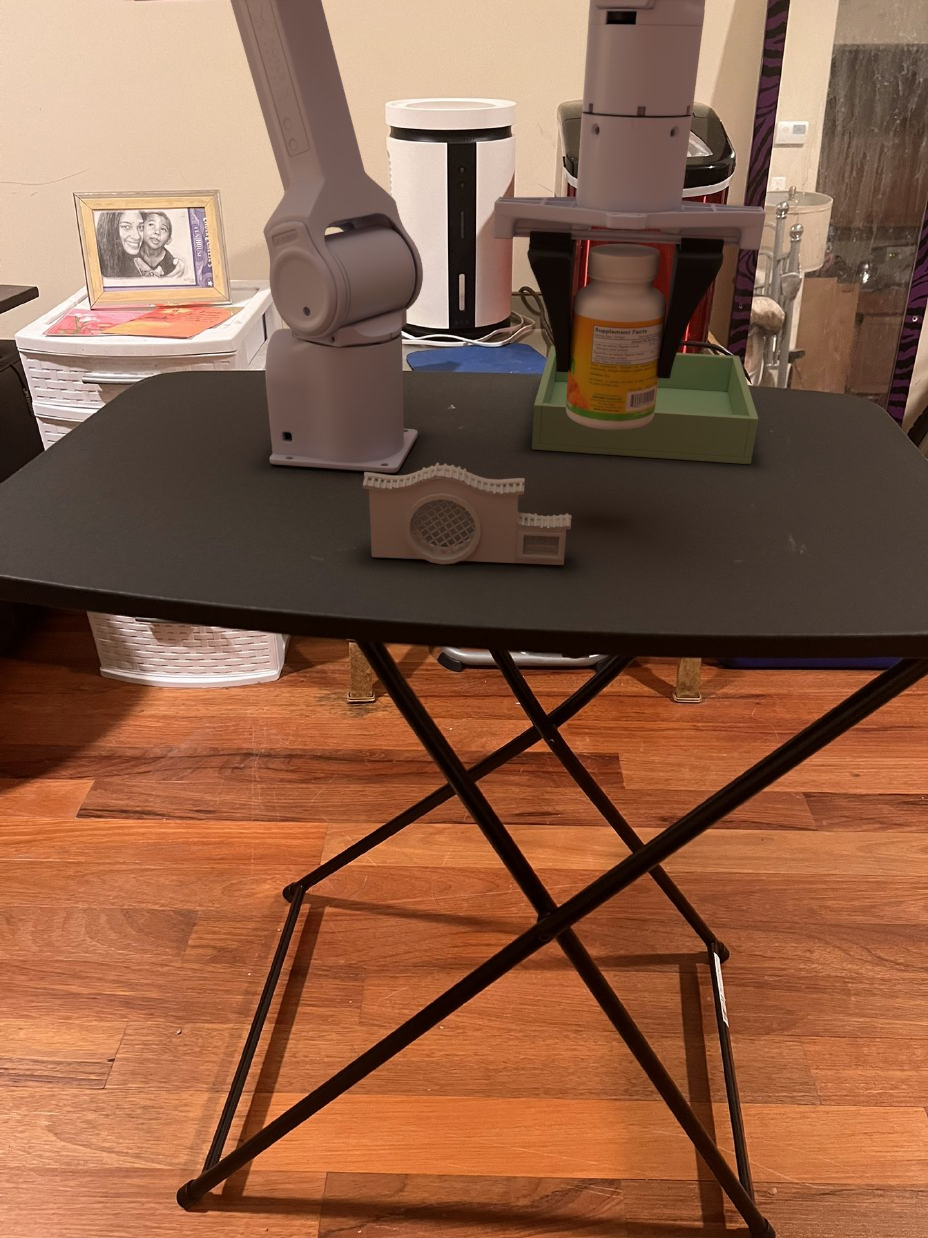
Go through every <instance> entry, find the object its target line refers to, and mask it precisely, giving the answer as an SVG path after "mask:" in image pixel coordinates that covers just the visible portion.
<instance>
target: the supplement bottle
mask: <svg viewBox="0 0 928 1238" xmlns="http://www.w3.org/2000/svg"><path fill="white" fill-rule="evenodd" d="M660 261H661V251H660V250H659V249H658V248H655V247H652V246H649V245H642V244H633V243H606V244H599V245H595V246H592V247H590V248H589V251H588V256H587V272H586V275H587V276H588V277H589V278H590V281H589V284H587V285H584V286H582V287H581V288H580V289H578V290H577V292H576V293H575V294H574V297H573V299H572V307H571V320H572V321H571V336H570V357H569V370H568V381H567V396H566V412H567V415H568V416H569V418H571V419H572V420H573V421H575V422H577V423H579V424H581V425H583V426H586V427H590V428H595V429H603V430H625V429H633V428H638V427H641V426H644V425H646V424H648V423H649V422H650V421H651V420H652V419H653V416H654V413H655V406H656V397H657V388H658V379H659V378H658V370H659V362H660V355H661V350H662V343H663V334H664V326H665V320H666V315H667V298H666V297H665V295H664V293H663V292H661V290H659V289H658V288H656V287H654V280H656V279H657V278H658V277H659V276H658V274H659V272H660Z"/></svg>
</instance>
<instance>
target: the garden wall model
mask: <svg viewBox="0 0 928 1238" xmlns="http://www.w3.org/2000/svg"><path fill="white" fill-rule="evenodd" d="M363 472H364V473H363V482H362V489H367V490H368V498H369V500H368V502H369V522H370V524H369V525H370V546H371V547H370V548H371V549H370V550H371V557H372V558H389V559H411V560H412V559H414V560H425V561H427V562H429V563H434V564H438V565H451V564H456V563H459V562H480V563H505V564H506V563H507V564H533V565H556V566H564V565H565V554H566V552H565V551H566V537H567V530H571V528H572V527H571V525H572V524H571V523H572V515H571V514H569V513H568V512H567V513H566V512H565V514H560V513H559V515H556V514H553V515H552V516H551V515H546V516H545V515H543V514H541V515H538V514H537V513H533V514H532V513H530V512H528V513H526V512H519V510H518V509H519V496H520V495H525V480H526V479H525V478H524V477H516V478H515V477H514V478H503V479H502V478H501V479H500V478H499V479H496V478H495V479H494V478H485V477H482V476H479V475H478V474H477V475H476V474H474V473H472V472H468V471H467V468H463V469H462V467H461V466H455V464H451V465H448V464H447V463H444V464H443V465H440V462H436V463H435V465H430V466H428V467H425V466H423V467H422V469H421V470H417V471H415V472H411V473H408V474H401V475H390V474H383V473H378V472H371V471H363ZM440 500H441V501H440ZM449 501H450V502H451V503H450V502H449ZM433 502H435V503H436V504H435V505H433V504H432V503H433ZM443 503H445V504H446V506H445V507H443V506H442V504H443ZM454 505H456V507H454V508H453V506H454ZM426 506H429V507H430V508H429V509H427V510H426V509H425V507H426ZM437 507H439V508H440V510H439V511H437V510H436V508H437ZM447 509H449V511H448V512H446V510H447ZM458 509H459V510H460V512H459V513H458V514H457V513H456V512H455V511H457V510H458ZM420 510H422V511H423V512H422V513H421V514H419V513H418V512H419V511H420ZM431 511H432V512H433V513H434V514H433V515H432V514H431V516H430V515H429V513H430V512H431ZM467 512H468V514H469V515H467V514H466V513H467ZM441 513H443V515H442V516H440V514H441ZM451 514H453V515H454V516H453V517H451V518H450V516H449V515H451ZM414 515H416V517H415V518H414V517H413V516H414ZM462 515H463V516H464V518H463V519H460V516H462ZM423 516H427V518H426V519H425V520H423V519H422V517H423ZM435 517H437V519H436V520H433V518H435ZM445 518H446V519H447V520H446V521H444V520H443V519H445ZM470 519H472V520H473V522H472V521H471V520H470ZM417 520H419V521H420V523H418V524H417V525H416V523H415V521H417ZM454 520H457V523H455V524H454V522H453V521H454ZM429 521H430V522H431V523H429V524H428V525H427V524H426V523H427V522H429ZM466 521H467V522H468V523H469V524H468V525H467V526H465V524H464V522H466ZM438 522H440V523H441V524H440V525H439V526H437V525H436V523H438ZM449 523H450V524H451V527H449V528H448V526H447V525H448V524H449ZM422 525H423V527H422V528H421V529H419V527H421V526H422ZM431 526H433V527H434V529H432V530H430V528H431ZM458 526H461V527H462V528H461V530H459V529H458V528H457V527H458ZM443 527H444V529H445V530H444V531H443V532H442V531H441V530H440V529H441V528H443ZM469 528H472V529H473V531H471V532H469V531H468V529H469ZM453 529H454V530H455V531H456V532H455V533H454V534H453V533H452V532H451V531H452V530H453ZM425 530H426V531H427V533H426V534H425V535H423V533H422V532H424V531H425ZM435 532H437V533H438V535H437V536H435V535H434V533H435ZM463 532H465V533H466V534H467V535H465V536H463V535H462V533H463ZM447 533H448V534H449V537H447V538H446V536H444V535H446V534H447ZM428 536H430V537H431V539H429V540H427V539H426V538H427V537H428ZM457 536H459V537H460V539H458V540H457V539H456V537H457ZM440 537H441V538H442V539H443V540H442V541H441V542H439V541H438V540H437V539H439V538H440ZM467 538H468V539H467ZM450 540H453V541H454V543H452V544H450V543H449V541H450ZM433 542H435V544H436V545H435V544H433ZM461 542H462V543H461ZM445 543H446V545H447V546H442V545H444V544H445Z"/></svg>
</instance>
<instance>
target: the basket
mask: <svg viewBox="0 0 928 1238" xmlns="http://www.w3.org/2000/svg"><path fill="white" fill-rule="evenodd" d="M567 381H568V372H557V371H556V354H555V346H554V345H551V346H550V348H549V352H548V355H547V359H546V362H545V366H544V369H543V373H542V376H541V378H540V383H539V386H538V390H537V393H536V397H535V401H534V404H533V413H532V415H533V416H532V436H531V437H532V438H531V450H533V451H534V450H536V451H550V452H563V453H564V452H565V453H578V454H593V455H607V456H608V455H609V456H610V455H611V456H623V457H637V458H650V459H652V458H653V459H664V460H665V459H666V460H668V459H669V460H682V461H696V462H710V463H723V464H725V463H726V464H740V465H751V464H752V460H753V459H752V458H753V454H754V449H755V448H754V447H755V442H756V436H757V432H758V425H759V421H760V420H759V417H758V413H757V410H756V407H755V403H754V399H753V397H752V394H751V389H750V387H749V384H748V381H747V378H746V374H745V371H744V368H743V365H742V360H741V358H740V356H739V355H728V354H727V355H725V354H710V353H709V354H707V353H706V354H705V353H690V352H689V353H688V352H677V354H676V357H675V360H674V363H673V367H672V371H671V376H670V378H669V379H666V378H659V379H658V388H657V397H656V406H655V413H654V416H653V419H652V420H651V421H650V422H649V423H648V424H646V425H644V426H641V427H638V428H633V429H625V430H603V429H595V428H590V427H586V426H583V425H581V424H579V423H577V422H575V421H573V420H572V419H571V418H569V416H568V415H567V412H566V396H567Z"/></svg>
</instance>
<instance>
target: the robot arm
mask: <svg viewBox="0 0 928 1238" xmlns="http://www.w3.org/2000/svg"><path fill="white" fill-rule="evenodd" d="M229 1H230V4H231V7H232V11H233V15H234V18H235V21H236V25H237V28H238V32H239V36H240V39H241V42H242V43H241V44H242V46H243V50H244V54H245V57H246V60H247V65H248V68H249V71H250V75H251V78H252V82H253V85H254V89H255V92H256V95H257V99H258V104H259V107H260V111H261V114H262V117H263V120H264V124H265V128H266V131H267V135H268V138H269V142H270V145H271V149H272V152H273V157H274V159H275V163H276V166H277V170H278V174H279V177H280V180H281V184H282V187H283V191H284V193H283V196H282V198H281V199H280V201H279V203H278V204H277V206H276V207H275V209H274V211H273V212H272V214H271V215H270V217H269V218H268V220H267V221H266V224H265V226H264V228H263V231H262V232H263V237H264V239H265V242H266V245H267V250H268V255H269V278H268V279H269V290H270V294H271V298H272V301H273V304H274V306H275V309H276V311H277V313H278V315H279V316H280V318H281V319H282V321H283V322H284V324H286V326H287V327H288V328H279V329H276V330H275V331H274V332H273V333H272V335H271V337H270V339H269V341H268V344H267V349H266V353H265V354H266V355H265V367H264V370H265V371H264V372H265V373H264V374H265V375H264V377H265V378H264V379H265V390H266V399H267V409H268V411H267V412H268V419H269V420H268V421H269V430H270V431H269V432H270V442H271V451H272V452H271V455H270V456H269V463H270V464H271V465H276V466H277V465H278V466H291V467H302V468H303V467H305V468H317V469H319V468H320V469H321V468H322V469H333V470H347V471H361V472H371V473H386V474H387V473H388V474H394V473H398V472H399V470H400V469H401V467H402V465H403V463H405V462H404V461H405V460H406V459H407V456H408V455H409V452H410V451H411V449H412V447H413V446H414V443H415V442H416V440H417V438H418V437H419V432H418V430H417V429H414V428H405V413H404V411H405V410H404V407H405V406H404V363H403V358H404V357H403V333H402V331H403V327H405V326H407V324H408V320H407V319H408V318H407V317H408V316H407V310H409V309H410V308H411V307H412V306H413V305H414V304H415V303H416V301H417V300H418V298H419V296H420V294H421V291H422V287H423V283H424V282H423V280H424V268H423V262H422V257H421V254H420V251H419V249H418V247H417V245H416V243H415V242H414V239H412V236H410V234H409V233H408V231H407V230H406V228H405V227H404V224H403V222H402V220H401V217H400V213H399V209H398V205H397V202H396V200H395V199H394V197H393V196H392V195H390V193H388V191H386V189H384V188H383V187H382V186H381V185H380V184H379V183H378V182H376V181H375V180H374V179H372V177H371V176H370V175H369V174H368V173H367V172H366V170H365V167H364V163H363V158H362V155H361V151H360V148H359V147H360V146H359V142H358V139H357V135H356V131H355V127H354V123H353V120H352V115H351V111H350V107H349V103H348V100H347V96H346V92H345V88H344V83H343V80H342V75H341V72H340V67H339V65H338V61H337V57H336V53H335V50H334V44H333V41H332V36H331V33H330V28H329V25H328V21H327V17H326V14H325V10H324V5H323V2H322V0H229ZM705 7H706V0H589V8H588V21H587V36H586V49H585V50H586V52H585V66H584V78H583V79H584V80H583V95H582V110H581V111H582V112H581V118H580V119H581V122H580V137H579V150H578V151H579V152H578V164H577V180H576V181H577V182H576V192H575V193H576V195H575V196H537V197H536V196H534V197H533V196H532V197H531V196H530V197H528V196H527V197H525V196H521V197H520V196H499V197H498V198H497V199H496V200H495V201H494V205H493V239H499V240H511V239H512V240H513V238H527V239H528V238H529V242H528V250H527V252H526V255H527V260H528V263H529V266H530V269H531V271H532V274H533V276H534V278H535V280H536V283H537V286H538V288H539V291H540V294H541V297H542V300H543V303H544V306H545V309H546V313H547V317H548V320H549V324H550V329H551V334H552V339H553V346H555V354H556V371H557V372H568V370H569V357H570V336H571V321H572V307H573V292H574V291H573V290H574V279H575V265H576V256H577V255H576V254H577V245H578V244H577V243H578V241H599V242H602V241H603V242H621V243H622V242H623V243H644V244H665V245H666V244H667V245H674V246H673V254H672V266H671V275H670V283H669V284H670V285H669V293H668V301H667V308H666V317H665V326H664V334H663V343H662V350H661V355H660V362H659V370H658V378H666V379H669V378H670V376H671V371H672V367H673V363H674V360H675V357H676V354H677V353H678V351H679V348H680V345H681V343H682V340H683V338H684V336H685V333H686V331H687V329H688V326H689V324H690V323H691V320H692V318H693V316H694V314H695V312H696V310H698V309H697V308H698V307H699V304H700V303H701V302H702V300H703V298H704V297H705V295H706V293H707V292H708V290H709V289H710V287H711V285H712V284H713V282H714V281H715V279H716V278H717V277H718V274H719V272H720V271H721V268H722V267H723V264H724V257H725V255H724V253H723V251H724V247H734V248H735V247H736V248H739V249H740V250H745V251H746V250H747V251H759V250H760V249H761V245H762V239H763V235H764V225H765V221H766V215H767V212H766V210H765V209H764V208H763V207H762V206H751V205H750V206H747V205H733V204H721V203H710V202H702V201H701V202H699V201H688V200H683V194H684V187H685V177H686V169H687V161H688V152H689V144H690V137H691V136H690V135H691V129H692V119H693V113H694V112H693V111H694V104H695V94H696V89H697V88H696V86H697V79H698V78H697V77H698V69H699V62H700V55H701V54H700V53H701V46H702V35H703V29H704V21H705V12H706V11H705ZM593 227H597V228H607V229H597V228H593ZM330 228H335V229H336V228H337V229H340V230H341V231H338V232H333V233H328V234H326V231H327V229H330ZM647 230H649V231H647ZM650 230H660V231H650Z"/></svg>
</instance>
